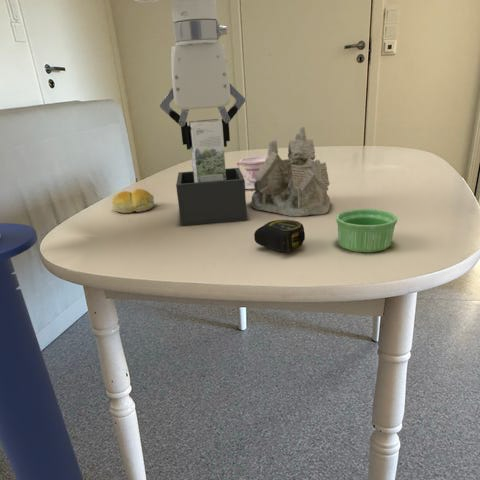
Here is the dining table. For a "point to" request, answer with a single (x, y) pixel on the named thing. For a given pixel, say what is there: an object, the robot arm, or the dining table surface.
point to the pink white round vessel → (251, 169)
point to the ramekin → (365, 229)
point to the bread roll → (133, 201)
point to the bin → (211, 198)
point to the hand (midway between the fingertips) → (206, 146)
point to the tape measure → (280, 235)
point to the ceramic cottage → (292, 180)
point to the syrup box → (207, 150)
